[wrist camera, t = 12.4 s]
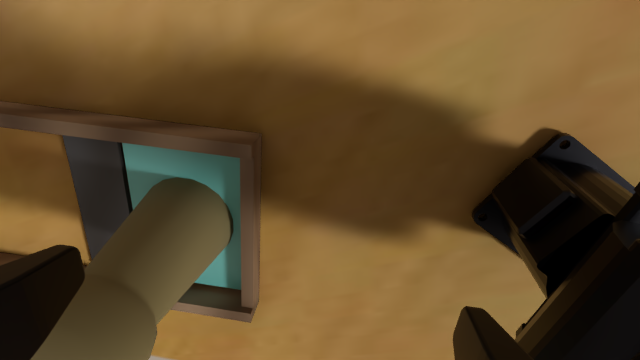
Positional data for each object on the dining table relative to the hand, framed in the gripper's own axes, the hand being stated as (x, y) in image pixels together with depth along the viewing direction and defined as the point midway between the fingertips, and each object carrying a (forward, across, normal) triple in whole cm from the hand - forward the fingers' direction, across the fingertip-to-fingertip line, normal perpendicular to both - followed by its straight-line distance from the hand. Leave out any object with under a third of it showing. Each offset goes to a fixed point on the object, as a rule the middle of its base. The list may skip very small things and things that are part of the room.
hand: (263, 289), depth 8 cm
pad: (+13, +8, +7) cm, 17 cm away
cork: (+13, +8, +7) cm, 17 cm away
